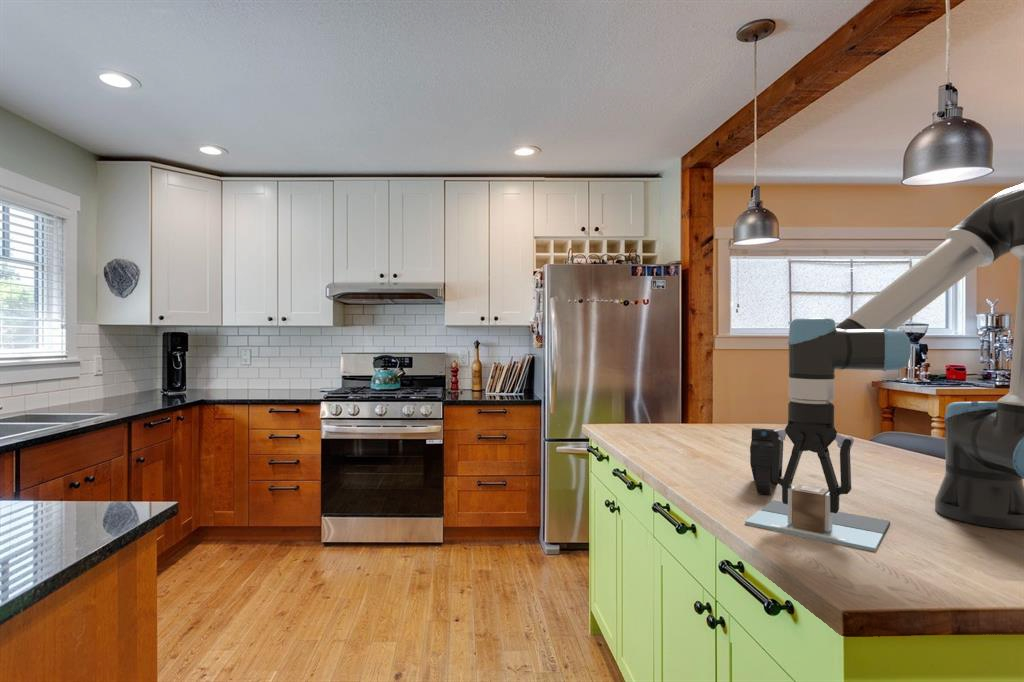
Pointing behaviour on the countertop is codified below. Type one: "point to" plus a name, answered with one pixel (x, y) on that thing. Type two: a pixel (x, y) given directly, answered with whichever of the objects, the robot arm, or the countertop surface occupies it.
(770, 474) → the tool
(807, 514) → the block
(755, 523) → the mat
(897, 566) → the countertop surface
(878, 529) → the mat
